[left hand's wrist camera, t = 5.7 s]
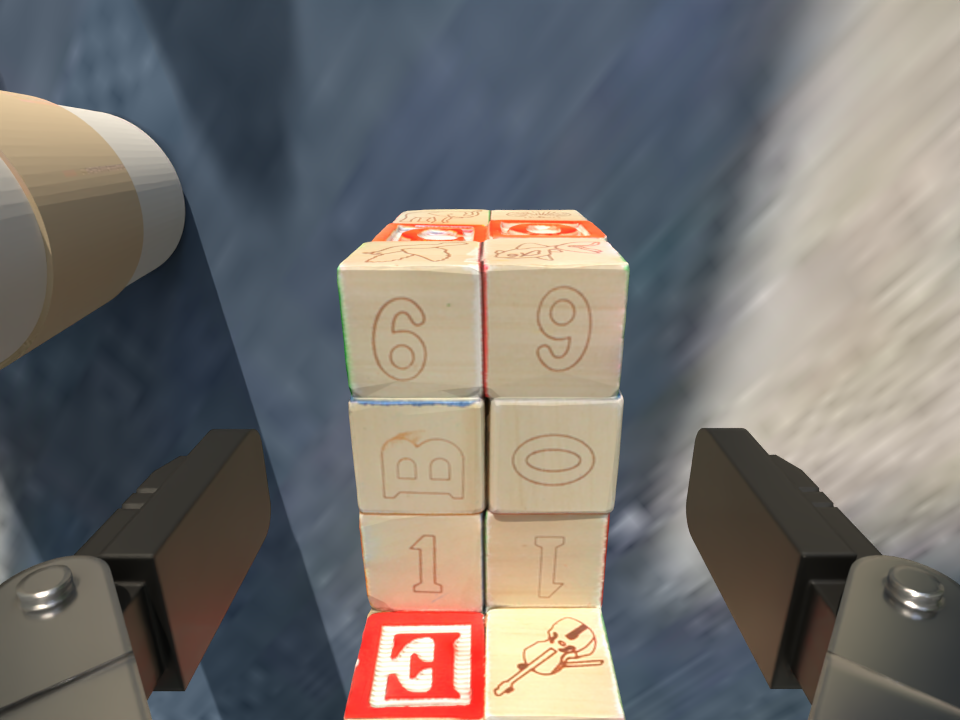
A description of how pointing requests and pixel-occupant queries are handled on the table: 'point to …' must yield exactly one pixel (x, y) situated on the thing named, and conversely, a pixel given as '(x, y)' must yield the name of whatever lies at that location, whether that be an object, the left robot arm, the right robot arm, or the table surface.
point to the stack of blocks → (485, 463)
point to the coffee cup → (76, 215)
